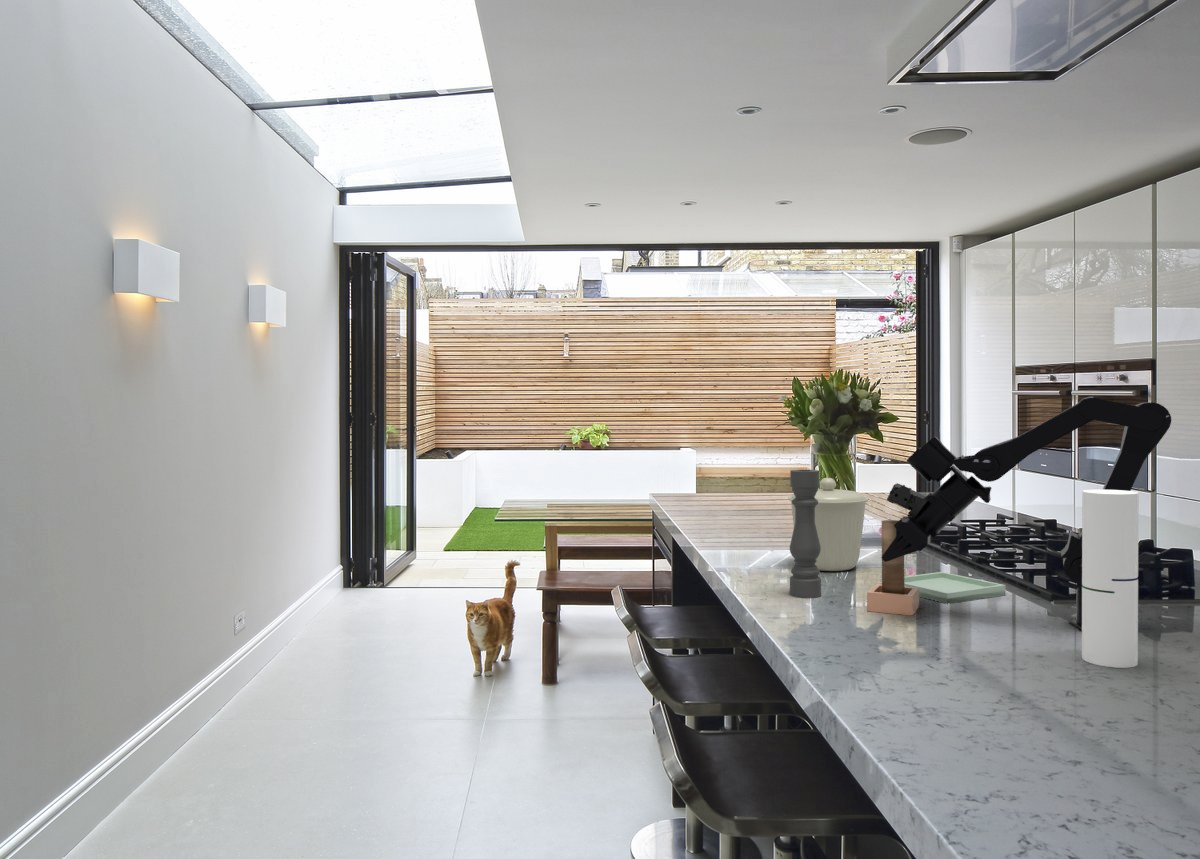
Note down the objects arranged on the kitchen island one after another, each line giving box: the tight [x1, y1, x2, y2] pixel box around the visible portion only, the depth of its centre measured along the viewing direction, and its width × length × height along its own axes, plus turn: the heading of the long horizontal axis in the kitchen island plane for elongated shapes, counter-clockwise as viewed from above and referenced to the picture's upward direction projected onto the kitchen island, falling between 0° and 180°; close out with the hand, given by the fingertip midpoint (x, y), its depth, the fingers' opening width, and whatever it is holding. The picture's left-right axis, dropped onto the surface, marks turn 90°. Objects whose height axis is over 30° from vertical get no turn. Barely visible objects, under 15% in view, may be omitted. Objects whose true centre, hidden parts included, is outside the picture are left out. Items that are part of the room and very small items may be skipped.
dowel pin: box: [881, 519, 905, 594], centre depth 164 cm, size 4×4×15 cm
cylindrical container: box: [1081, 489, 1140, 669], centre depth 129 cm, size 7×7×25 cm
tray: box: [904, 571, 1007, 605], centre depth 178 cm, size 16×16×2 cm
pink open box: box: [866, 584, 920, 616], centre depth 164 cm, size 8×8×4 cm
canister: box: [788, 477, 869, 572], centre depth 205 cm, size 18×18×21 cm
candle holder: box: [789, 469, 822, 599], centre depth 177 cm, size 6×6×25 cm
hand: (885, 557), depth 164 cm, fingers closed on dowel pin, 4 cm apart
